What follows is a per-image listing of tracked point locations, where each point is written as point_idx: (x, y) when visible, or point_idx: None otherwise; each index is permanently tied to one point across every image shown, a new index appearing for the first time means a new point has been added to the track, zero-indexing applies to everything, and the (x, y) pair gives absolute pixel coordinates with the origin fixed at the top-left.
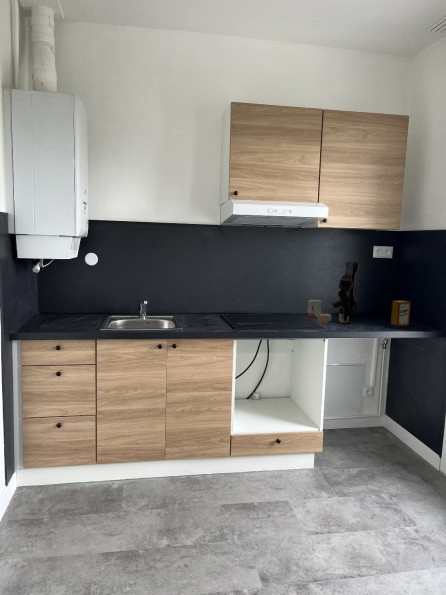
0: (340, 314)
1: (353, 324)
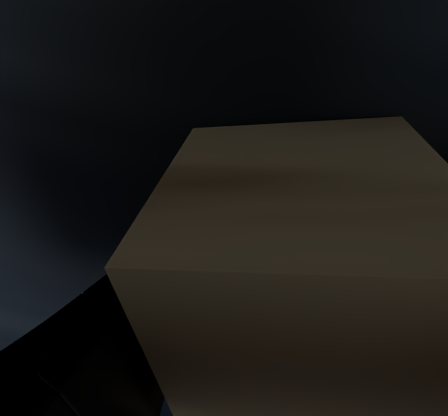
0: (284, 266)
1: (57, 274)
